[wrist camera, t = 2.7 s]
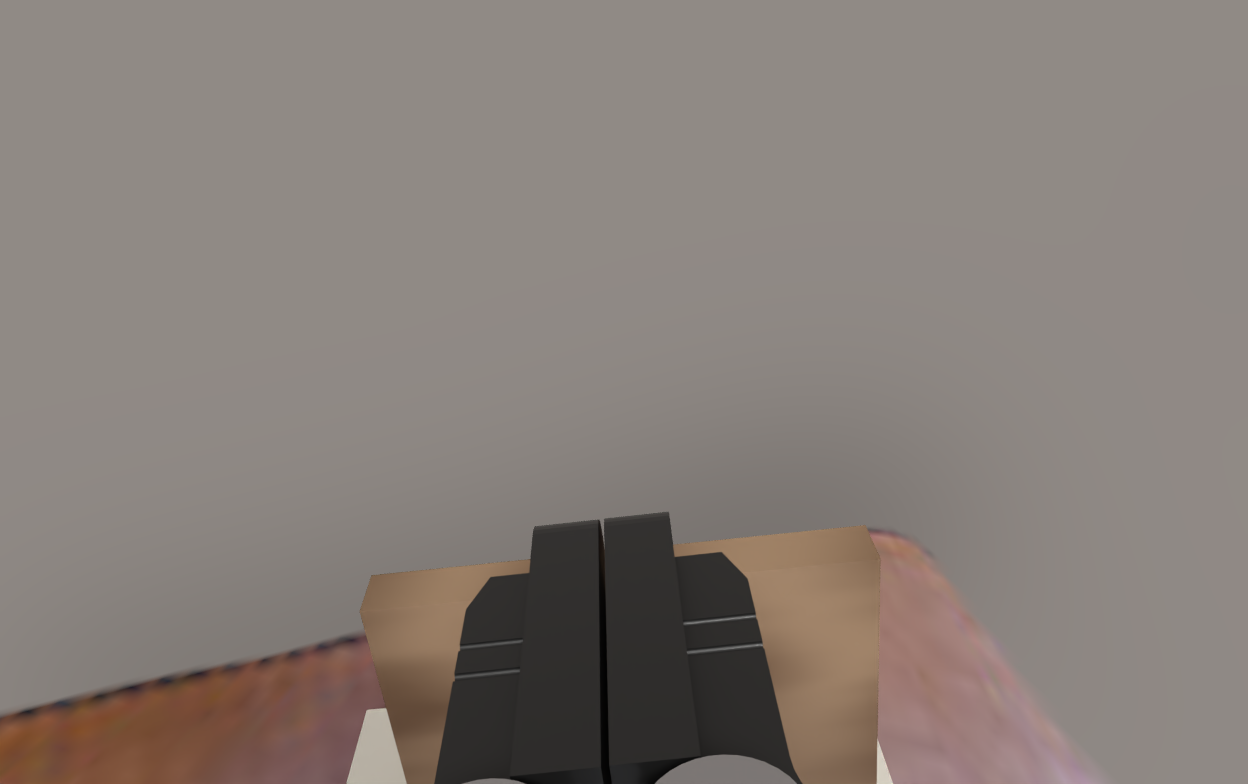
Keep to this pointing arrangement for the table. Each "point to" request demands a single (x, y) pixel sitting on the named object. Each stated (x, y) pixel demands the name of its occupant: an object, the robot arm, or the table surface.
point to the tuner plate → (380, 769)
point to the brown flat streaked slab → (785, 609)
